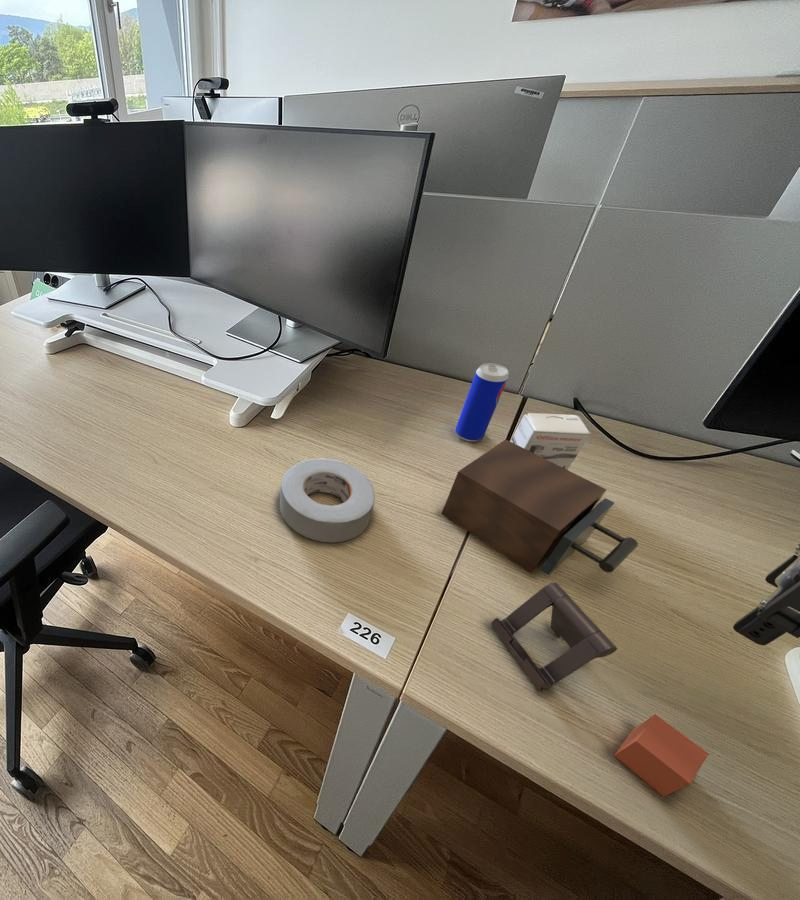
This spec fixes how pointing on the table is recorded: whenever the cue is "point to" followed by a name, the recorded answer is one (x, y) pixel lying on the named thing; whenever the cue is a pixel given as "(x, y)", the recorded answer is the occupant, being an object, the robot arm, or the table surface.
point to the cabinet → (519, 502)
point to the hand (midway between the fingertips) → (763, 609)
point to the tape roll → (321, 518)
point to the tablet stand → (564, 623)
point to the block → (661, 755)
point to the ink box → (552, 436)
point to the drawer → (581, 534)
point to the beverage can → (481, 401)
